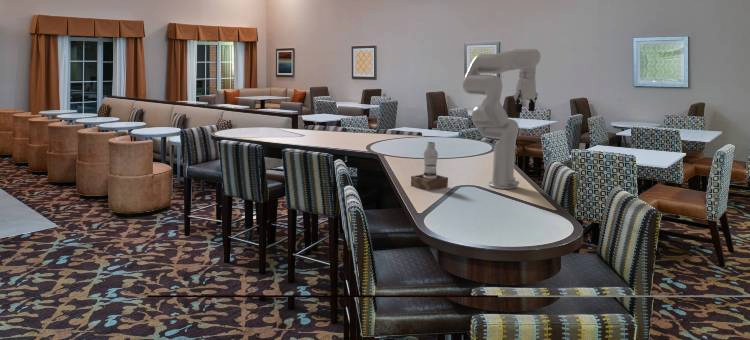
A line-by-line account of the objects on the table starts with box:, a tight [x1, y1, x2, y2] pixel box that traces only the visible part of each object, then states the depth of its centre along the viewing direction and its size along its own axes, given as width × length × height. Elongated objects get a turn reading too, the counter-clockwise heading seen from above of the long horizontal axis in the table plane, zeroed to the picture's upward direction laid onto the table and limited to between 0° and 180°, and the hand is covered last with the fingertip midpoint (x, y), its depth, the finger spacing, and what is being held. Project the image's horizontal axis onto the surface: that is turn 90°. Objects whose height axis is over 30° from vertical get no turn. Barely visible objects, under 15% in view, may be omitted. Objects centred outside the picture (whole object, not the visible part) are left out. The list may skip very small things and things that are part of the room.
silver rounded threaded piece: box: [423, 141, 439, 180], centre depth 264 cm, size 6×7×20 cm
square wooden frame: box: [410, 173, 449, 192], centre depth 266 cm, size 12×12×4 cm
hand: (525, 111), depth 277 cm, fingers open, 9 cm apart
